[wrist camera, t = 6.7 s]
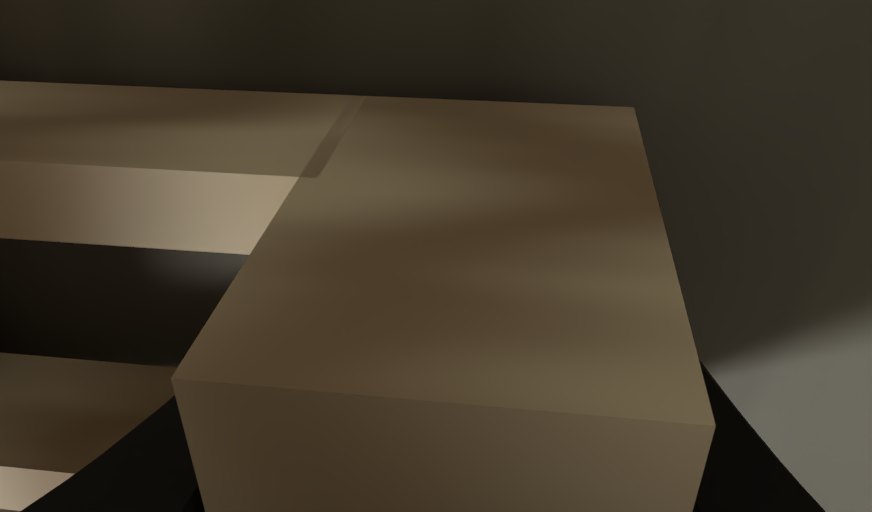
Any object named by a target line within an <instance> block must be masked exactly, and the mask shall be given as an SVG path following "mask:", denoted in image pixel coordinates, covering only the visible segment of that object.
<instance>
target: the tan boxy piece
mask: <svg viewBox="0 0 872 512" xmlns="http://www.w3.org/2000/svg"><path fill="white" fill-rule="evenodd" d="M0 238H8V239H23V240H38V241H52V242H67V243H82V244H97V245H112V246H127V247H142V248H156V249H171V250H186V251H201V252H216V253H231V254H246V255H249V256H248V258H247V259H246V261H245V263H244V264H243V266H242V267H241V269H240V270H239V272H238V274H237V275H236V277H235V278H234V280H233V281H232V283H231V285H230V286H229V288H228V289H227V291H226V292H225V294H224V295H223V297H222V299H221V300H220V302H219V303H218V305H217V306H216V308H215V310H214V311H213V313H212V314H211V316H210V317H209V319H208V321H207V322H206V324H205V325H204V327H203V328H202V330H201V332H200V333H199V335H198V336H197V338H196V339H195V341H194V342H193V344H192V346H191V347H190V349H189V350H188V352H187V353H186V355H185V357H184V358H183V360H182V361H181V363H180V364H179V366H178V368H174V367H163V366H151V365H139V364H128V363H116V362H104V361H93V360H81V359H69V358H58V357H46V356H34V355H23V354H11V353H0V509H6V510H15V511H22V510H23V509H25V508H26V507H27V506H29V505H30V504H32V503H33V502H35V501H36V500H38V499H39V498H41V497H42V496H44V495H45V494H47V493H48V492H50V491H51V490H53V489H54V488H56V487H57V486H59V485H60V484H61V483H63V482H64V481H66V480H67V479H68V478H70V477H71V476H73V475H74V474H75V473H77V472H78V471H80V470H81V469H82V468H84V467H85V466H86V465H88V464H89V463H90V462H92V461H93V460H95V459H96V458H97V457H99V456H100V455H101V454H103V453H104V452H105V451H106V450H108V449H109V448H110V447H111V446H113V445H114V444H115V443H116V442H118V441H119V440H120V439H121V438H123V437H124V436H125V435H126V434H128V433H129V432H130V431H131V430H133V429H134V428H135V427H136V426H138V425H139V424H140V423H141V422H143V421H144V420H145V419H146V418H148V417H149V416H150V415H151V414H153V413H154V412H155V411H156V410H158V409H159V408H160V407H161V406H163V405H164V404H165V403H166V402H167V401H168V400H170V399H171V398H172V397H173V396H174V395H175V397H176V401H177V404H178V408H179V412H180V416H181V420H182V424H183V428H184V432H185V435H186V439H187V443H188V447H189V451H190V455H191V459H192V462H193V466H194V470H195V474H196V478H197V482H198V486H199V490H200V493H201V497H202V501H203V505H204V509H205V512H693V508H694V504H695V501H696V497H697V493H698V489H699V486H700V482H701V478H702V475H703V471H704V467H705V464H706V460H707V456H708V453H709V449H710V445H711V442H712V438H713V434H714V431H715V427H716V425H715V421H714V417H713V413H712V409H711V405H710V401H709V397H708V394H707V390H706V386H705V382H704V378H703V374H702V370H701V366H700V362H699V359H698V355H697V351H696V347H695V343H694V339H693V335H692V331H691V327H690V323H689V320H688V316H687V312H686V308H685V304H684V300H683V296H682V292H681V288H680V285H679V281H678V277H677V273H676V269H675V265H674V261H673V257H672V253H671V250H670V246H669V242H668V238H667V234H666V230H665V226H664V222H663V218H662V214H661V211H660V207H659V203H658V199H657V195H656V191H655V187H654V183H653V179H652V176H651V172H650V168H649V164H648V160H647V156H646V152H645V148H644V144H643V141H642V137H641V133H640V129H639V125H638V121H637V117H636V113H635V109H634V107H619V106H595V105H571V104H547V103H523V102H499V101H476V100H452V99H428V98H404V97H380V96H356V95H332V94H308V93H284V92H261V91H237V90H213V89H189V88H165V87H141V86H117V85H93V84H70V83H46V82H22V81H0Z"/></svg>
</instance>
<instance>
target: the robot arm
mask: <svg viewBox="0 0 872 512" xmlns="http://www.w3.org/2000/svg"><path fill="white" fill-rule="evenodd" d="M698 359H699V358H698ZM699 362H700V366H701V370H702V374H703V378H704V382H705V386H706V390H707V394H708V397H709V401H710V405H711V409H712V413H713V417H714V421H715V425H716V427H715V431H714V434H713V438H712V442H711V445H710V449H709V453H708V456H707V460H706V464H705V467H704V471H703V475H702V478H701V482H700V486H699V489H698V493H697V497H696V501H695V504H694V508H693V512H825V511H824V509H823V508H822V507H821V506H820V505H819V504H818V503H817V502H816V501H815V500H814V499H813V497H812V496H811V495H810V494H809V493H808V492H807V491H806V490H805V489H804V488H803V487H802V486H801V484H800V483H799V482H798V481H797V480H796V479H795V478H794V476H793V475H792V474H791V473H790V472H789V471H788V470H787V468H786V467H785V466H784V465H783V464H782V463H781V462H780V460H779V459H778V458H777V457H776V456H775V454H774V453H773V452H772V451H771V450H770V448H769V447H768V446H767V445H766V444H765V442H764V441H763V440H762V439H761V438H760V436H759V435H758V434H757V433H756V432H755V430H754V429H753V428H752V427H751V425H750V424H749V423H748V422H747V421H746V419H745V418H744V417H743V416H742V414H741V413H740V412H739V411H738V409H737V408H736V407H735V406H734V404H733V403H732V402H731V401H730V399H729V398H728V397H727V395H726V394H725V393H724V391H723V390H722V389H721V388H720V386H719V385H718V384H717V382H716V381H715V380H714V378H713V377H712V376H711V374H710V373H709V372H708V370H707V369H706V368H705V366H704V365H703V364H702V362H701V361H700V360H699ZM20 512H205V509H204V505H203V501H202V497H201V493H200V490H199V486H198V482H197V478H196V474H195V470H194V466H193V462H192V459H191V455H190V451H189V447H188V443H187V439H186V435H185V432H184V428H183V424H182V420H181V416H180V412H179V408H178V404H177V401H176V397H175V395H174V396H173V397H172V398H171V399H170V400H168V401H167V402H166V403H165V404H164V405H163V406H161V407H160V408H159V409H158V410H156V411H155V412H154V413H153V414H151V415H150V416H149V417H148V418H146V419H145V420H144V421H143V422H141V423H140V424H139V425H138V426H136V427H135V428H134V429H133V430H131V431H130V432H129V433H128V434H126V435H125V436H124V437H123V438H121V439H120V440H119V441H118V442H116V443H115V444H114V445H113V446H111V447H110V448H109V449H108V450H106V451H105V452H104V453H103V454H101V455H100V456H99V457H97V458H96V459H95V460H93V461H92V462H90V463H89V464H88V465H86V466H85V467H84V468H82V469H81V470H80V471H78V472H77V473H75V474H74V475H73V476H71V477H70V478H68V479H67V480H66V481H64V482H63V483H61V484H60V485H59V486H57V487H56V488H54V489H53V490H51V491H50V492H48V493H47V494H45V495H44V496H42V497H41V498H39V499H38V500H36V501H35V502H33V503H32V504H30V505H29V506H27V507H26V508H25V509H23V510H22V511H20Z"/></svg>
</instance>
